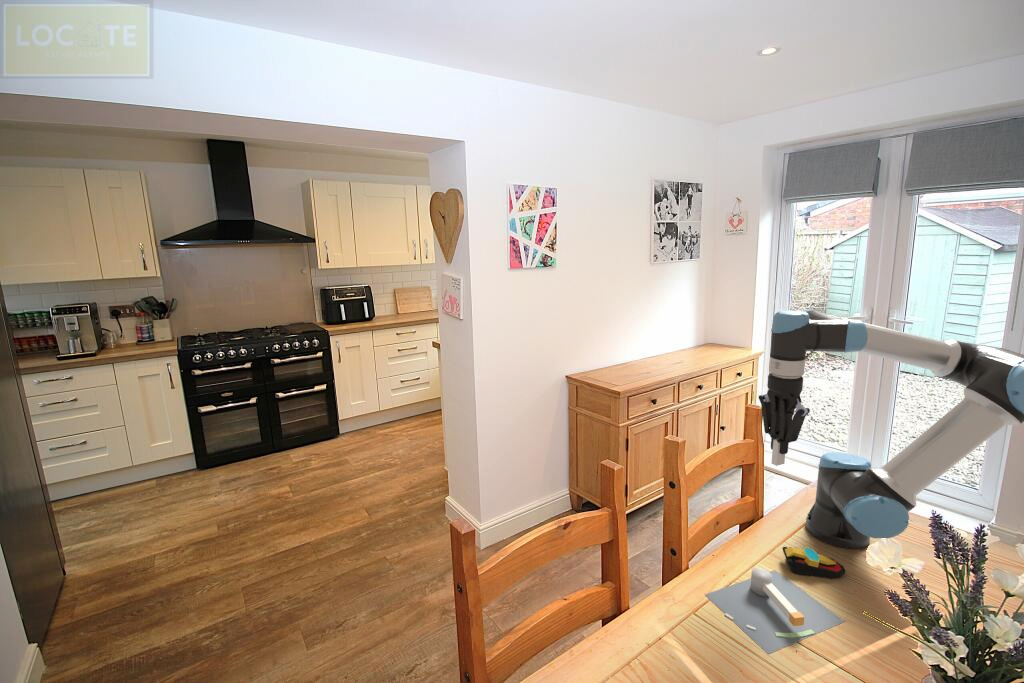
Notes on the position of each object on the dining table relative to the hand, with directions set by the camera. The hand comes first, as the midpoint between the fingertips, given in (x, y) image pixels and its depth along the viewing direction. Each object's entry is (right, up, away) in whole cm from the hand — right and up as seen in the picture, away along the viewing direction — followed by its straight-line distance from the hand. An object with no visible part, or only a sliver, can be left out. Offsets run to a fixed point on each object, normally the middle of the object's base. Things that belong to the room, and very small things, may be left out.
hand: (777, 463), depth 124 cm
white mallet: (-8, -29, -14) cm, 33 cm away
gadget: (+8, -27, -2) cm, 29 cm away
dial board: (-9, -30, -13) cm, 34 cm away
